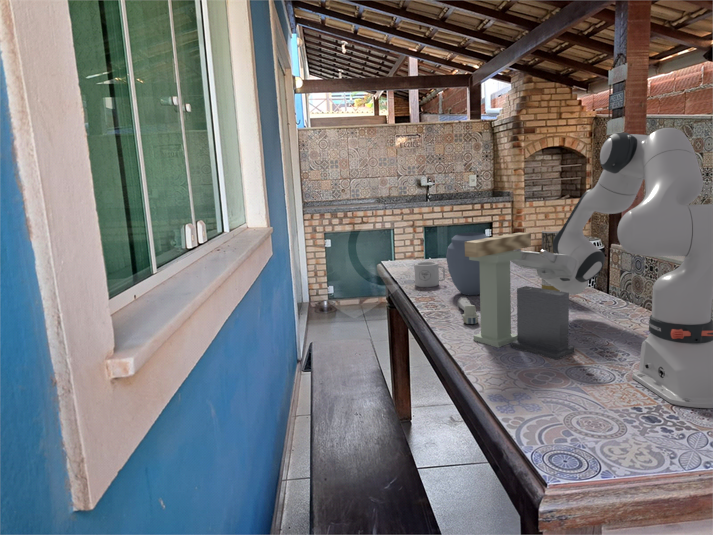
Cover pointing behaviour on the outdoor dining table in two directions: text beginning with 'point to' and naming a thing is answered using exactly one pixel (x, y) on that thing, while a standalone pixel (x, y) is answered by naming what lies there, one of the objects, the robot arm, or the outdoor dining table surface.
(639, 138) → the robot arm
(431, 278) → the mug
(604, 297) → the outdoor dining table surface
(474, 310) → the light grey brush
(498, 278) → the pedestal
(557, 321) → the dark grey upright block
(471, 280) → the vase
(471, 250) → the beam
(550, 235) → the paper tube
